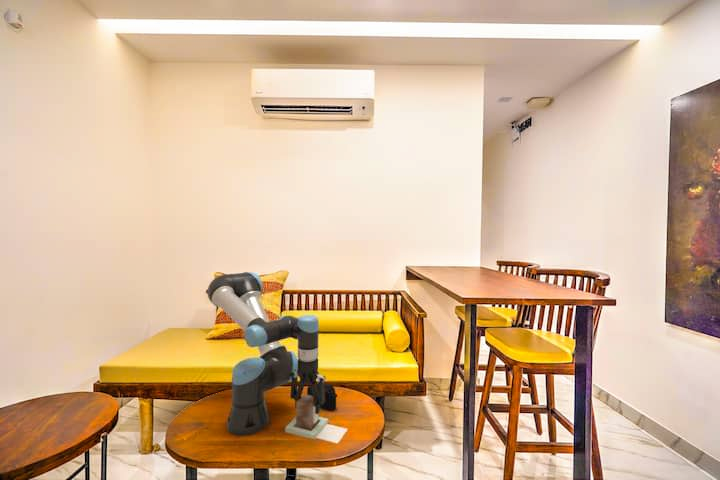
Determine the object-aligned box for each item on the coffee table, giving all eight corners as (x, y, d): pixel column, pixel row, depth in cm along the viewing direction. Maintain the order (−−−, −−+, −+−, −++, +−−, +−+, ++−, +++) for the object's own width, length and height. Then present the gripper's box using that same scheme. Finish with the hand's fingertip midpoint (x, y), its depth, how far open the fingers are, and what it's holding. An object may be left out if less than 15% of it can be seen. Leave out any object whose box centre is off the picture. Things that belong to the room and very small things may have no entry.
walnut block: (296, 431, 123) (296, 401, 123) (304, 422, 129) (304, 394, 128) (310, 434, 121) (310, 404, 121) (318, 425, 127) (318, 397, 126)
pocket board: (285, 432, 122) (285, 427, 122) (301, 417, 132) (301, 412, 132) (314, 440, 118) (314, 435, 118) (328, 424, 128) (328, 418, 128)
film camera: (345, 403, 143) (345, 382, 143) (331, 413, 135) (332, 391, 135) (318, 393, 151) (318, 374, 151) (303, 402, 143) (303, 382, 143)
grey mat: (314, 438, 119) (314, 437, 119) (326, 425, 127) (326, 423, 127) (337, 445, 115) (337, 443, 115) (347, 430, 124) (347, 429, 124)
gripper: (280, 357, 124) (279, 419, 125) (326, 366, 117) (325, 430, 118) (291, 351, 131) (291, 409, 132) (335, 358, 124) (334, 419, 125)
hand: (307, 419), depth 125 cm, fingers closed on walnut block, 6 cm apart
